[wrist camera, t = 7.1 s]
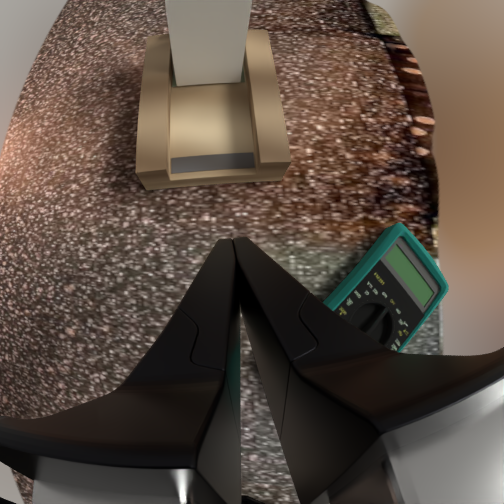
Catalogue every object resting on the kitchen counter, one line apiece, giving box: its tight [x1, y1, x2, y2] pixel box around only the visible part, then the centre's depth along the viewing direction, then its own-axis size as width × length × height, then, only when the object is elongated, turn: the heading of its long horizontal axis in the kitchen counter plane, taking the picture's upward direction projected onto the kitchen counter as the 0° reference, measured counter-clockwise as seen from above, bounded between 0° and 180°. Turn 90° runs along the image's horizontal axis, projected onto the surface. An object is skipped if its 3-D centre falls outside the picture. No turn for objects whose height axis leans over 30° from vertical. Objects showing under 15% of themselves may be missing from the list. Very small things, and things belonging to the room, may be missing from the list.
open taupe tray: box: [136, 30, 291, 190], centre depth 21 cm, size 13×10×4 cm
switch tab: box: [165, 0, 252, 86], centre depth 17 cm, size 4×5×10 cm
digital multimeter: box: [323, 223, 448, 352], centre depth 21 cm, size 7×15×3 cm, turn 134°
